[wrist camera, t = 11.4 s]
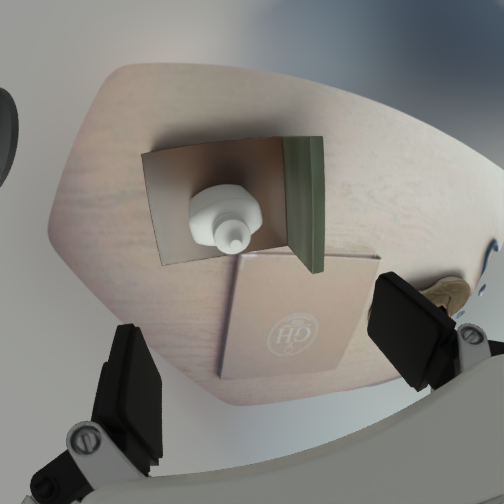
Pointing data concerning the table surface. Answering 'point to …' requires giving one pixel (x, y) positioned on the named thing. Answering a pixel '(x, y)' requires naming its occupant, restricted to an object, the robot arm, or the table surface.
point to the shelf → (254, 182)
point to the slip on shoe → (447, 294)
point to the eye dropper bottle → (224, 217)
